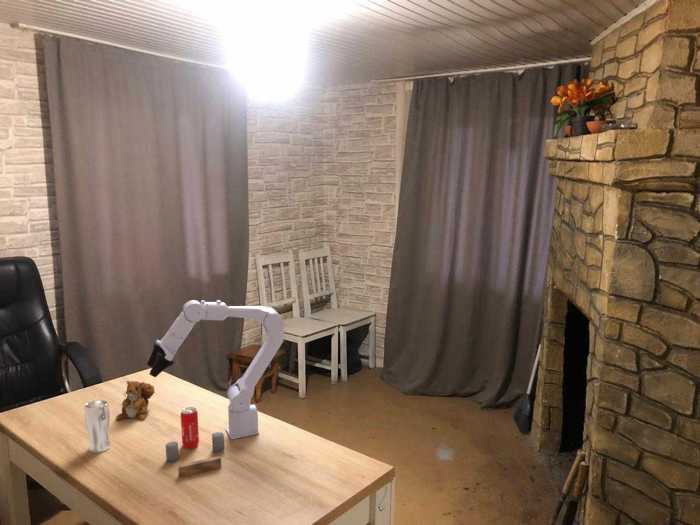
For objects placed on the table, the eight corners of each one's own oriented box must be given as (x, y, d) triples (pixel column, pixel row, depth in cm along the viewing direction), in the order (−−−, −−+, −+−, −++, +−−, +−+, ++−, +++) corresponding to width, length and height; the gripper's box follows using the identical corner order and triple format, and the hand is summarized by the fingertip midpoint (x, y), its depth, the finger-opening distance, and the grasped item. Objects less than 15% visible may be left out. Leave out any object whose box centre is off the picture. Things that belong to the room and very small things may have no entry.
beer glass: (116, 445, 175) (113, 401, 172) (98, 455, 169) (94, 410, 166) (101, 440, 178) (97, 397, 175) (83, 450, 172) (78, 406, 169)
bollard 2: (222, 445, 175) (222, 431, 174) (225, 450, 172) (224, 436, 171) (211, 448, 173) (210, 433, 173) (213, 453, 170) (213, 438, 169)
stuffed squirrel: (114, 421, 191) (111, 386, 189) (134, 404, 205) (132, 371, 202) (141, 423, 190) (138, 387, 187) (159, 405, 204) (157, 372, 201)
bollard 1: (177, 455, 169) (177, 440, 168) (179, 461, 166) (178, 446, 165) (165, 458, 168) (164, 443, 167) (167, 463, 164) (166, 448, 163)
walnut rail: (220, 464, 164) (219, 455, 163) (221, 467, 162) (220, 458, 162) (178, 474, 159) (178, 465, 158) (179, 477, 157) (179, 467, 157)
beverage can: (194, 450, 172) (192, 414, 170) (179, 448, 173) (177, 413, 171) (201, 441, 177) (200, 407, 175) (187, 440, 178) (185, 406, 176)
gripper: (162, 321, 175) (137, 356, 174) (168, 336, 162) (141, 374, 161) (181, 331, 178) (157, 366, 177) (188, 347, 165) (162, 384, 164)
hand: (151, 370), depth 169 cm, fingers open, 7 cm apart
